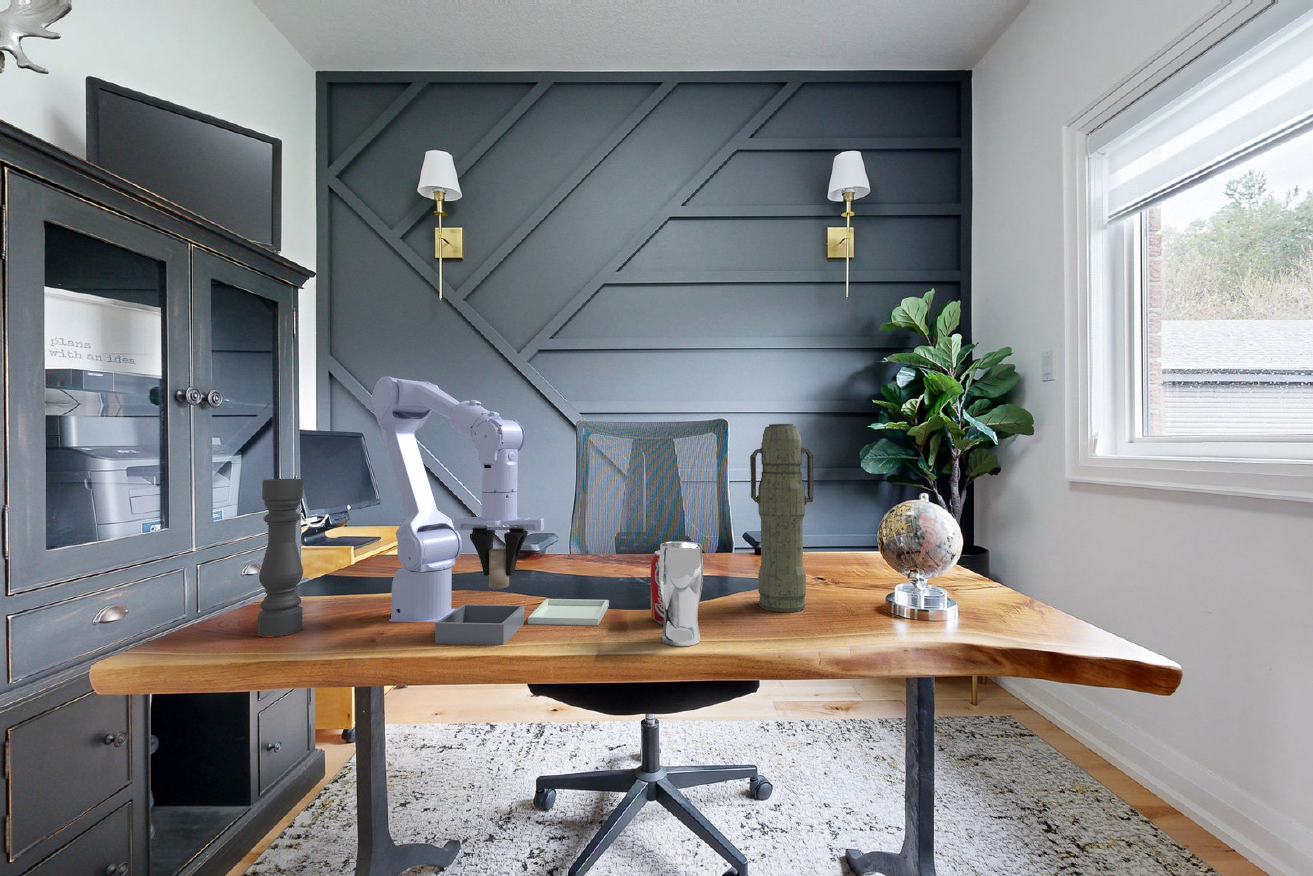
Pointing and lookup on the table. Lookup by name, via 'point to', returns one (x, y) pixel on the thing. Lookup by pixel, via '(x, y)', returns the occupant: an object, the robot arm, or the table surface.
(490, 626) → the charcoal bin
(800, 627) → the table surface
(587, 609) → the sage tray
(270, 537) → the candle holder
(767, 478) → the thermos
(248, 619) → the table surface
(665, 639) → the beer glass
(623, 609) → the table surface
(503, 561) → the birch pin
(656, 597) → the soda can
